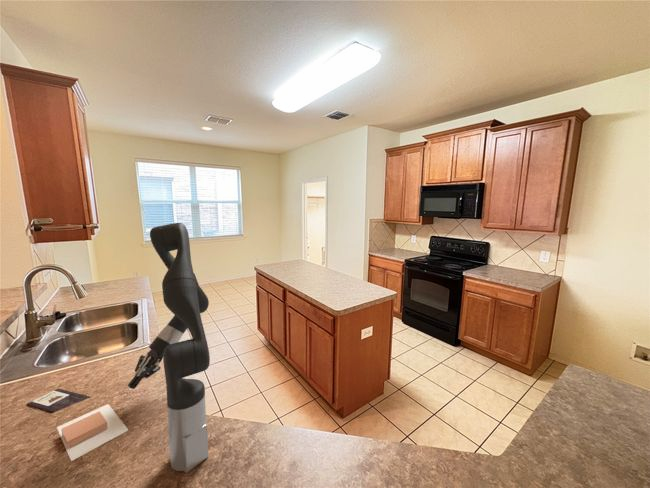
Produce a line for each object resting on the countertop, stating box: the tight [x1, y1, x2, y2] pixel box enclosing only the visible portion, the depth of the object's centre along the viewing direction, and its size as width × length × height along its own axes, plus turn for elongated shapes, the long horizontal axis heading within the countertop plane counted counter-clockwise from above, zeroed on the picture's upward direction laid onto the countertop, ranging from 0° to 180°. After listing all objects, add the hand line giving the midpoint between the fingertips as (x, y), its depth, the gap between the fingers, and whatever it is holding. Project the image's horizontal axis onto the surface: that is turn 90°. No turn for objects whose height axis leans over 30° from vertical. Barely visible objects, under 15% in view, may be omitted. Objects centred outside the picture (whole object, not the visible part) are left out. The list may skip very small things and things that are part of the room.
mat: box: [56, 403, 129, 462], centre depth 81 cm, size 20×13×1 cm, turn 54°
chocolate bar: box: [26, 388, 91, 414], centre depth 95 cm, size 9×1×18 cm
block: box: [61, 411, 107, 448], centre depth 80 cm, size 8×2×9 cm
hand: (130, 387), depth 89 cm, fingers closed
